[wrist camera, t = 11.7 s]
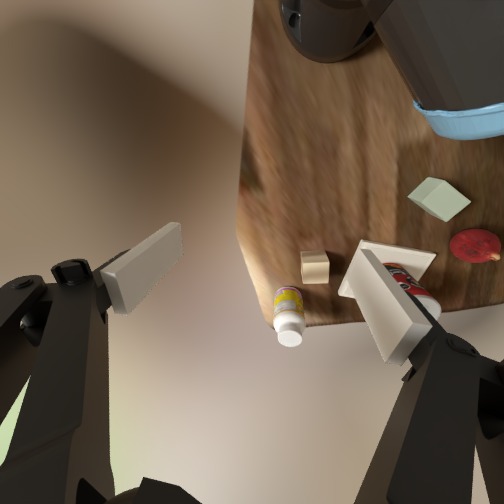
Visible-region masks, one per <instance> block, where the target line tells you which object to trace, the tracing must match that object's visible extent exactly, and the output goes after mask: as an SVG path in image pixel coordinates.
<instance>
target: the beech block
mask: <svg viewBox="0 0 504 504" xmlns="http://www.w3.org/2000/svg"><path fill="white" fill-rule="evenodd" d="M329 263H330V262H329V260H328V257H327V255H326V252H325V250H323V251H302V252H301V273H302V280H303V284H310V283H328V278H329Z"/></svg>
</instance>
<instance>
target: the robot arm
mask: <svg viewBox="0 0 504 504" xmlns="http://www.w3.org/2000/svg"><path fill="white" fill-rule="evenodd" d="M279 10H280V16H281V20H282V24H283V27H284V30H285V32H286V35H287V37H288V39H289V40H290V42H291V43H292V45H293V46H294V47H295V49H296V50H297V51H298V52H299V53H301V54H302V55H303V56H305V57H306V58H308V59H310V60H313V61H316V62H321V63H331V62H337V61H340V60H343V59H345V58H348V57H350V56H351V55H353V54H355V53H356V52H358V51H359V50H360V49H362V48H363V47H364V46H365V45H366V44H367V43H368V42H369V41H370V40H371V39H372V38H373V37H374V36H375V35H376V34H377V33H378V35H379V37H380V39H381V40H382V42H383V44H384V46H385V48H386V50H387V51H388V53H389V55H390V57H391V59H392V61H393V62H394V64H395V66H396V68H397V70H398V72H399V74H400V75H401V77H402V79H403V81H404V83H405V85H406V86H407V88H408V90H409V92H410V94H411V96H412V97H413V99H414V100H413V104H414V106H415V108H416V109H417V110H418V111H419V112H421V113H423V115H424V116H425V118H426V120H427V121H428V123H429V124H430V126H431V127H432V129H433V130H434V131H435V132H436V133H437V134H438V135H440V136H443V137H448V138H451V139H454V140H476V139H484V138H490V137H496V136H500V135H504V0H279ZM182 255H183V246H182V235H181V225H180V223H174V222H170V223H168V224H167V225H166V226H164V227H163V228H161V229H160V230H158V231H157V232H155V233H154V234H153V235H151V236H150V237H148V238H147V239H145V240H144V241H142V242H141V243H140V244H138V245H137V246H135V247H134V248H132V249H129V250H126V251H124V252H121V253H119V254H118V255H116V256H115V257H114V258H112V259H110V260H109V262H106V263H104V264H103V265H101V266H100V267H99V268H97V269H95V270H94V271H93V272H91V269H90V266H89V264H88V262H87V260H85V259H71V260H67V261H63V262H61V263H58V264H57V265H55V266H53V267H52V269H51V272H52V274H53V275H54V278H55V280H56V282H57V283H48V284H45V282H44V280H43V278H42V277H41V276H39V275H29V276H22V277H18V278H16V279H14V280H12V281H9V282H8V283H6V284H5V285H3V286H2V287H1V288H0V425H1V424H2V422H3V420H4V419H5V417H6V415H7V414H8V412H9V410H10V409H11V407H12V405H13V404H14V402H15V400H16V399H17V397H18V395H19V393H20V392H21V390H22V388H23V387H24V385H25V384H26V382H27V380H28V379H29V377H30V379H29V383H28V387H27V389H26V393H25V396H24V399H23V403H22V406H21V409H20V413H19V416H18V419H17V423H16V426H15V429H14V433H13V436H12V439H11V443H10V446H9V450H8V452H7V455H6V458H5V460H4V462H3V463H2V465H1V466H0V504H202V503H200V502H199V501H198V500H196V499H195V498H194V497H193V496H191V495H190V494H188V493H187V492H186V491H185V490H184V489H182V488H181V487H180V486H177V485H173V484H169V483H166V482H162V481H157V480H154V479H149V478H145V477H143V480H142V482H141V484H140V487H137V488H133V489H131V490H128V491H124V492H122V493H120V494H118V495H116V496H115V488H114V478H113V473H112V469H111V465H110V438H109V437H110V435H109V358H108V314H107V311H106V310H107V309H108V308H109V307H110V306H111V305H112V307H113V310H114V312H115V313H116V314H122V315H127V316H128V315H129V314H130V313H131V312H132V311H133V310H134V309H135V308H136V306H137V305H138V304H139V303H140V302H141V301H142V300H143V298H145V297H146V295H147V294H148V293H149V292H150V291H151V290H152V289H153V288H154V287H155V285H156V284H157V283H158V282H159V281H160V280H161V279H162V278H163V277H164V276H165V274H166V273H167V272H168V271H169V270H170V269H171V268H172V267H173V266H174V265H175V263H176V262H177V261H178V260H179V259H180V258H181V257H182ZM347 281H348V283H349V286H350V288H351V290H352V292H353V294H354V296H355V299H356V301H357V303H358V305H359V307H360V310H361V312H362V314H363V316H364V318H365V320H366V323H367V325H368V327H369V329H370V331H371V333H372V336H373V338H374V340H375V342H376V344H377V347H378V349H379V351H380V353H381V355H382V358H383V360H384V362H385V363H389V364H395V365H400V366H402V365H403V363H404V362H405V361H406V360H407V358H409V360H410V362H411V364H412V365H413V366H412V367H411V368H410V370H409V371H408V372H407V373H406V375H405V376H404V377H403V378H402V381H404V383H403V386H402V388H401V391H400V393H399V396H398V398H397V400H396V403H395V405H394V408H393V411H392V412H391V415H390V418H389V420H388V422H387V425H386V427H385V429H384V432H383V434H382V437H381V439H380V441H379V444H378V446H377V449H376V451H375V454H374V456H373V458H372V461H371V463H370V466H369V468H368V470H367V473H366V475H365V478H364V480H363V483H362V485H361V487H360V490H359V492H358V495H357V497H356V500H355V502H354V504H471V498H472V483H473V468H474V453H475V445H476V449H477V453H478V457H479V461H480V465H481V469H482V473H483V477H484V481H485V485H486V490H487V494H488V498H489V502H490V504H504V359H503V360H502V361H501V362H497V361H495V360H492V359H489V358H487V357H484V356H481V355H480V354H479V352H478V351H477V350H476V349H475V348H474V347H473V346H472V345H471V344H470V343H468V342H467V341H465V340H464V339H462V338H460V337H458V336H456V335H454V334H450V333H447V332H446V331H445V330H444V329H443V328H442V326H441V325H440V324H439V323H438V322H437V321H436V319H435V318H434V317H433V316H432V315H431V314H430V313H428V310H427V309H426V308H425V307H423V304H422V303H421V302H420V301H419V300H418V298H416V297H415V296H414V295H412V294H411V293H410V292H408V291H404V290H403V289H402V288H401V286H400V285H399V284H398V283H397V281H396V280H395V279H394V278H393V277H392V275H391V274H390V273H389V272H388V270H387V269H386V268H385V267H384V265H383V264H382V263H381V262H380V261H379V259H378V258H377V257H376V256H375V254H374V253H373V252H372V251H371V250H368V249H361V248H359V251H358V253H357V256H356V258H355V261H354V263H353V266H352V268H351V271H350V273H349V275H348V278H347ZM21 321H22V322H23V324H22V325H21V326H20V322H21ZM30 375H31V376H30Z"/></svg>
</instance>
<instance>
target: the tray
mask: <svg viewBox="0 0 504 504" xmlns="http://www.w3.org/2000/svg"><path fill="white" fill-rule="evenodd" d="M359 248H361V249H368V250H371V251H372V252H373V253H374V254H375V256H376V257H377V258H378V259H379V261H380V262H381V263H395V264H398V265H400V266H402V267H403V268H404V269H405V270H406V271H407V272H408V273H409V274H410V275H411V276H412V277H413V278H414V279H415V280H416V281H417V282H418V281H419V279H420V278H421V276H422V275H423V274H424V272H425V271H426V269H427V268H428V266H429V265H430V263H431V262H432V260H433V259H434V257H435V256H436V254H435V253H433V252H431V251H425V250H419V249H414V248H408V247H402V246H397V245H391V244H385V243H380V242H374V241H368V240H363V239H361V241H360V244H359V246H358V248H357V250H356V253H355V255H354V257H353V259H352V261H351V264H350V266H349V268H348V270H347V273H346V275H345V277H344V279H343V281H342V284H341V286H340V288H339V290H338V294H339V295H340V296H345V297H351V298H355V296H354V294H353V292H352V290H351V288H350V286H349V283H348V281H347V278H348V275H349V273H350V271H351V268H352V266H353V263H354V261H355V258H356V256H357V253H358V251H359Z"/></svg>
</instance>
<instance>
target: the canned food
mask: <svg viewBox="0 0 504 504" xmlns="http://www.w3.org/2000/svg"><path fill="white" fill-rule="evenodd" d="M382 264H383V265H384V267H385V268H386V269H387V270H388V272H389V273H390V274H391V275H392V277H393V278H394V279H395V280H396V281H397V283H398V284H399V285H400V286H401V288H402V289H403V290H404V291H408V292H410V293H411V294H412V295H414V296H415V297H416V298H418V300H419V301H420V302H421V303H422V304H423V307H425V308H426V309H427V310H428V313H430V314H431V315H432V316H433V317H434V318H435V319H436V321H437V319H438V318H439V316H440V315H441V307H440V305H439V304H438V302H437V301H436V300H435V299H434V298H433V297H432V296H431V295H430V294H429V293H428V292H427V291H426V290H425V289H424V288H423V287H422V286H421V285H420V284H419V283H418V282H417V281H416V280H415V279H414V278H413V277H412V276H411V275H410V274H409V273H408V272H407V271H406V270H405V269H404V268H403V267H402V266H400V265H398V264H395V263H382Z"/></svg>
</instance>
